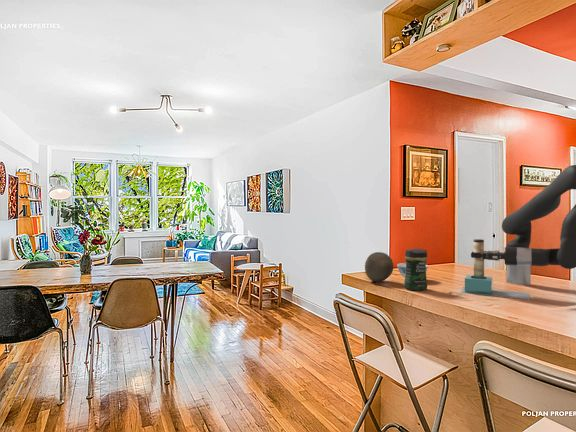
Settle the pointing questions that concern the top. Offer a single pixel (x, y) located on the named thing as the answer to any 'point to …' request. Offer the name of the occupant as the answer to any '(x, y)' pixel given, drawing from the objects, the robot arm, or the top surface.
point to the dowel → (478, 261)
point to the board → (505, 294)
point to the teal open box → (478, 285)
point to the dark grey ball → (378, 266)
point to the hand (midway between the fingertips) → (471, 254)
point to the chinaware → (404, 268)
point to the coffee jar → (415, 269)
